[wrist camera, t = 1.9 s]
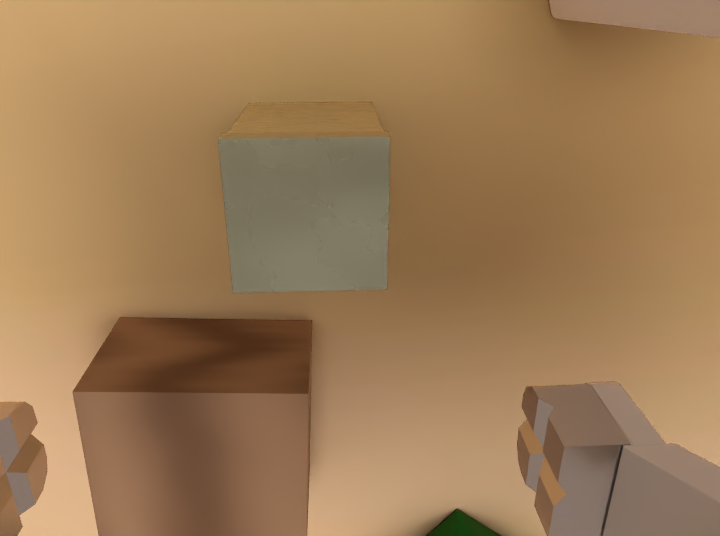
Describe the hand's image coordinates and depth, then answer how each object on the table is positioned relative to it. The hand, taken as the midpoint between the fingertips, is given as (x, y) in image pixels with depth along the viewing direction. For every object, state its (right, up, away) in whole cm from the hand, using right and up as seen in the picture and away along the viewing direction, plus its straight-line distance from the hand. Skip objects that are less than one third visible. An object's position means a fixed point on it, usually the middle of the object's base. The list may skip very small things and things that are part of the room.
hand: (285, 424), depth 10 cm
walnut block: (-6, -4, +21) cm, 22 cm away
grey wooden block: (-1, +7, +16) cm, 17 cm away
